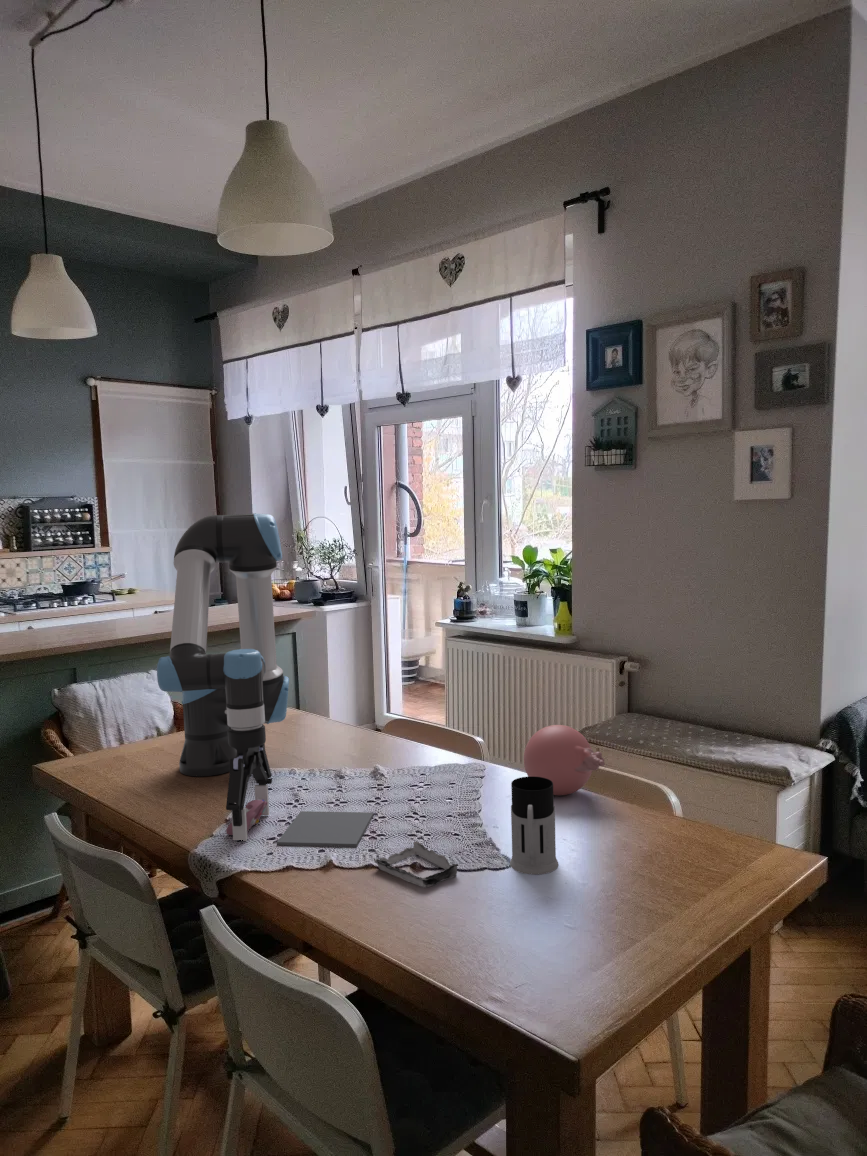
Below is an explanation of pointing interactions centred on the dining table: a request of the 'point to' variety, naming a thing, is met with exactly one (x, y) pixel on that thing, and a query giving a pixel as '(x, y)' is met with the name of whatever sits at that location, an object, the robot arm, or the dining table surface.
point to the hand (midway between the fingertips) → (252, 827)
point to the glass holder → (533, 826)
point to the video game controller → (251, 813)
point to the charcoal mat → (326, 829)
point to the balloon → (561, 758)
